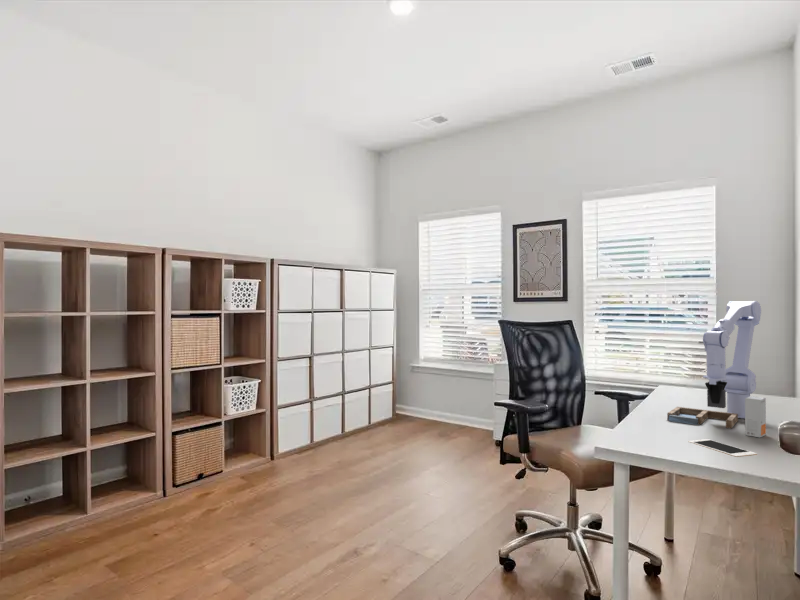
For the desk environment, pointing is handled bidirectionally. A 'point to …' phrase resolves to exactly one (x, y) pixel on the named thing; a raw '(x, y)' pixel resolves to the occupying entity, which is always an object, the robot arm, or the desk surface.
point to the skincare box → (755, 416)
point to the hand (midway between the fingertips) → (716, 402)
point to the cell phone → (723, 447)
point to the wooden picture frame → (700, 416)
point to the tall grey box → (721, 404)
